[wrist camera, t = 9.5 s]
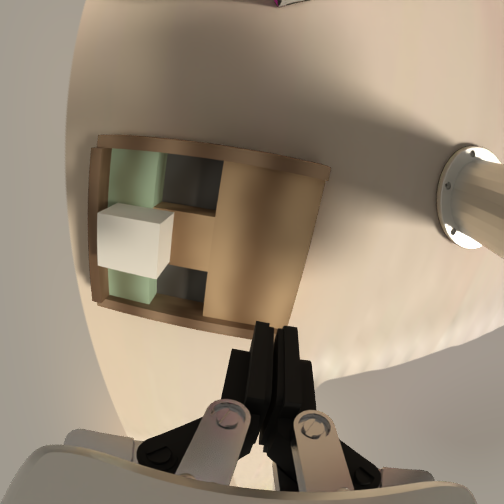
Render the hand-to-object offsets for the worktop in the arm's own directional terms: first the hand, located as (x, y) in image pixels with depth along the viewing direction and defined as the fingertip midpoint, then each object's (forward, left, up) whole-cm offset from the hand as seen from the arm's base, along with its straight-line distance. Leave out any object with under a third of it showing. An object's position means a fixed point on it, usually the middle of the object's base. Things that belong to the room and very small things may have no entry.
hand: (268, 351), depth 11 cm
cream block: (+12, +2, -16) cm, 20 cm away
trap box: (+6, +2, -19) cm, 20 cm away
